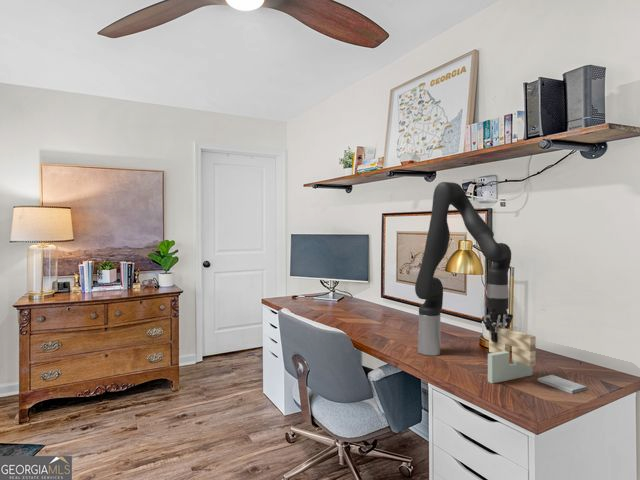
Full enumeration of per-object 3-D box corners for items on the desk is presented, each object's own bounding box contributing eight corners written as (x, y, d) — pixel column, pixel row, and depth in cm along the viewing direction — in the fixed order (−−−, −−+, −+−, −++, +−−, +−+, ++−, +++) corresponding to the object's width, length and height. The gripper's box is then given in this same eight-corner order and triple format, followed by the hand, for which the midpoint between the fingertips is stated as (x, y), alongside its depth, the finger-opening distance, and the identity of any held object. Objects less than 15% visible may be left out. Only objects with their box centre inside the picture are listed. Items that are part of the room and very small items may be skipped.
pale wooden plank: (535, 365, 135) (535, 336, 135) (530, 366, 134) (530, 337, 134) (493, 350, 151) (493, 325, 151) (488, 351, 150) (489, 325, 150)
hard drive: (587, 386, 133) (552, 374, 144) (572, 390, 129) (537, 377, 141) (587, 391, 133) (552, 378, 144) (571, 395, 129) (537, 382, 141)
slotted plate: (492, 383, 138) (492, 355, 138) (487, 381, 140) (487, 353, 140) (532, 375, 146) (532, 348, 146) (527, 373, 148) (527, 347, 147)
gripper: (503, 293, 154) (503, 337, 154) (476, 295, 148) (476, 341, 149) (519, 296, 147) (519, 341, 147) (491, 298, 142) (491, 346, 142)
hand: (497, 341), depth 148 cm, fingers closed on pale wooden plank, 2 cm apart
